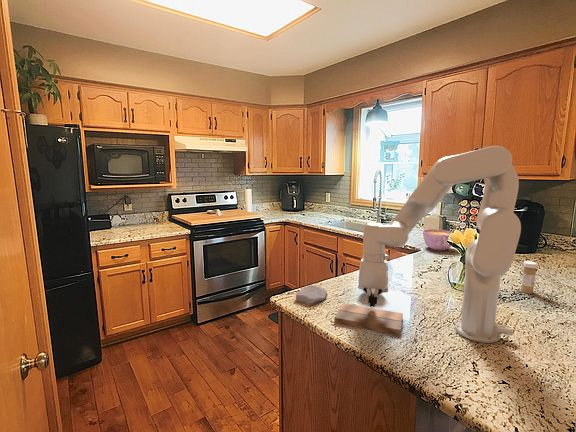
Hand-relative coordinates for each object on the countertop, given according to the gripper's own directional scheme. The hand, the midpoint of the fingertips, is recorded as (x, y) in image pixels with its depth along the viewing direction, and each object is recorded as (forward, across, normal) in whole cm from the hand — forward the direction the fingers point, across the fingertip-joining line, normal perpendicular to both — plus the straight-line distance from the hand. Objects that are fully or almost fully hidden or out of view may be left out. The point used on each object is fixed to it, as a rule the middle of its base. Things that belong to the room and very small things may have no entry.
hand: (372, 305), depth 114 cm
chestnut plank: (+4, +1, +1) cm, 4 cm away
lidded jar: (+4, +3, -20) cm, 20 cm away
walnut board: (+4, +1, +8) cm, 9 cm away
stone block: (+4, +25, -5) cm, 26 cm away
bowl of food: (+5, -27, -114) cm, 117 cm away
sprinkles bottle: (+5, -59, -49) cm, 77 cm away
